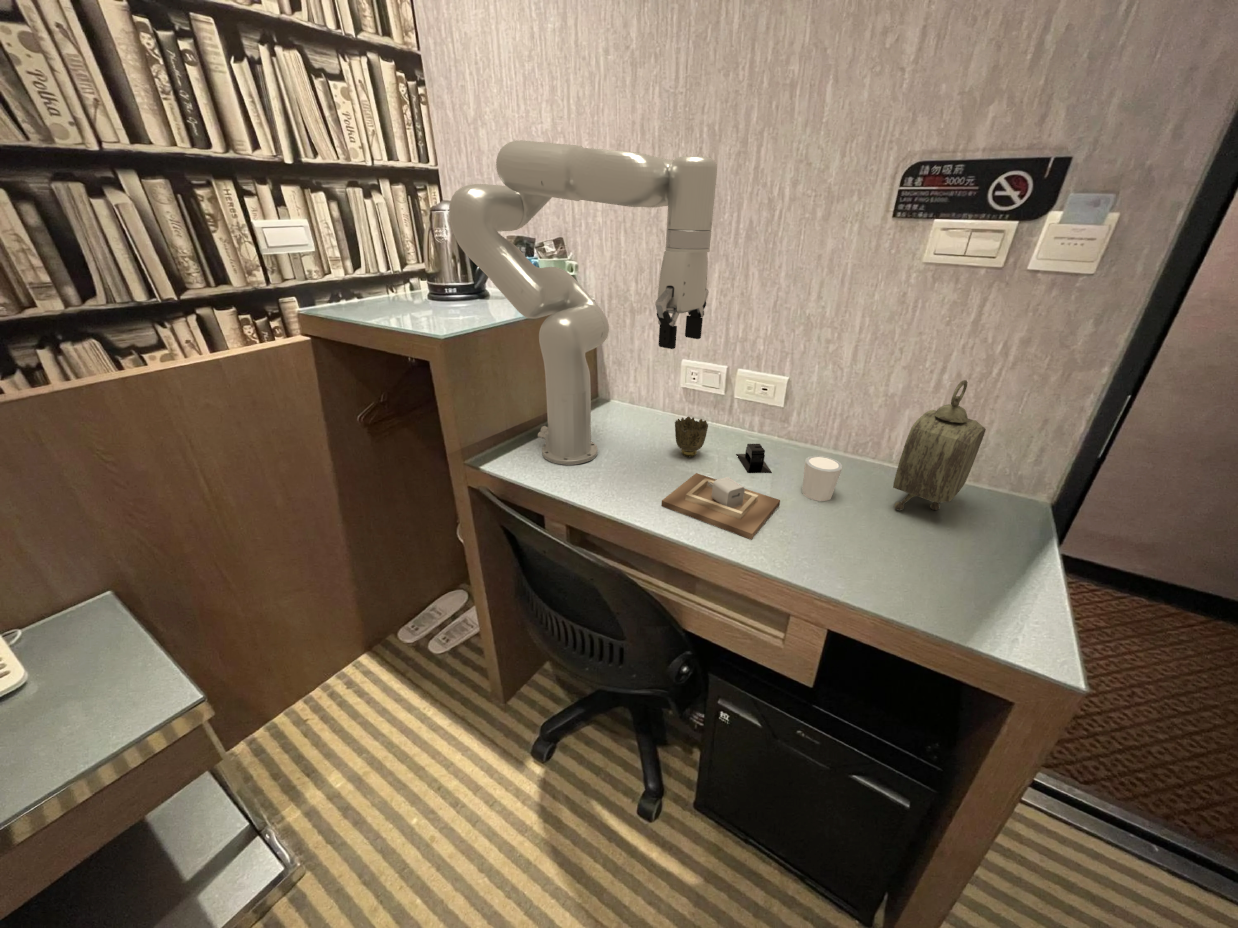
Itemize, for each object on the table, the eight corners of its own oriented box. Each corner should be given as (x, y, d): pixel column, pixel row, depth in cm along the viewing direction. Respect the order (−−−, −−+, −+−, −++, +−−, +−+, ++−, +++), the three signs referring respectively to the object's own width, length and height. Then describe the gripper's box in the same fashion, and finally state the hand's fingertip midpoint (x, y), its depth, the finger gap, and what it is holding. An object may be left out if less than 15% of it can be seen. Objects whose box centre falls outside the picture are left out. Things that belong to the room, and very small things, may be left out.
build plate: (777, 478, 108) (781, 459, 106) (744, 479, 108) (747, 459, 105) (760, 453, 119) (763, 435, 117) (729, 453, 119) (732, 435, 117)
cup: (710, 453, 117) (713, 421, 114) (696, 465, 112) (700, 431, 108) (681, 445, 121) (683, 414, 117) (666, 456, 115) (669, 424, 111)
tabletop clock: (910, 484, 106) (949, 368, 94) (959, 501, 100) (1006, 379, 89) (884, 509, 96) (923, 383, 85) (936, 529, 91) (985, 397, 79)
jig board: (661, 505, 96) (662, 495, 95) (695, 477, 106) (696, 467, 105) (751, 539, 87) (753, 527, 86) (779, 505, 97) (781, 494, 96)
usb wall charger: (725, 510, 93) (728, 491, 91) (702, 493, 98) (704, 474, 96) (742, 504, 95) (745, 486, 93) (719, 488, 100) (721, 470, 98)
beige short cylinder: (836, 490, 103) (843, 459, 100) (833, 506, 97) (841, 474, 94) (801, 482, 106) (807, 452, 102) (796, 497, 100) (803, 466, 97)
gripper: (692, 239, 94) (684, 332, 102) (641, 242, 81) (637, 348, 89) (729, 241, 90) (719, 337, 98) (682, 245, 77) (674, 355, 85)
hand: (680, 342), depth 93 cm, fingers open, 9 cm apart
